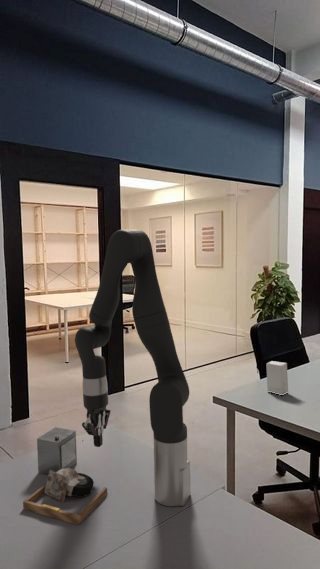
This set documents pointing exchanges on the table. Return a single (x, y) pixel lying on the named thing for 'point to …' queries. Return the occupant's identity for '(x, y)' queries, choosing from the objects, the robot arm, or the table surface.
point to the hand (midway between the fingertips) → (98, 445)
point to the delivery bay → (56, 512)
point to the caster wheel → (68, 484)
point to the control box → (56, 450)
